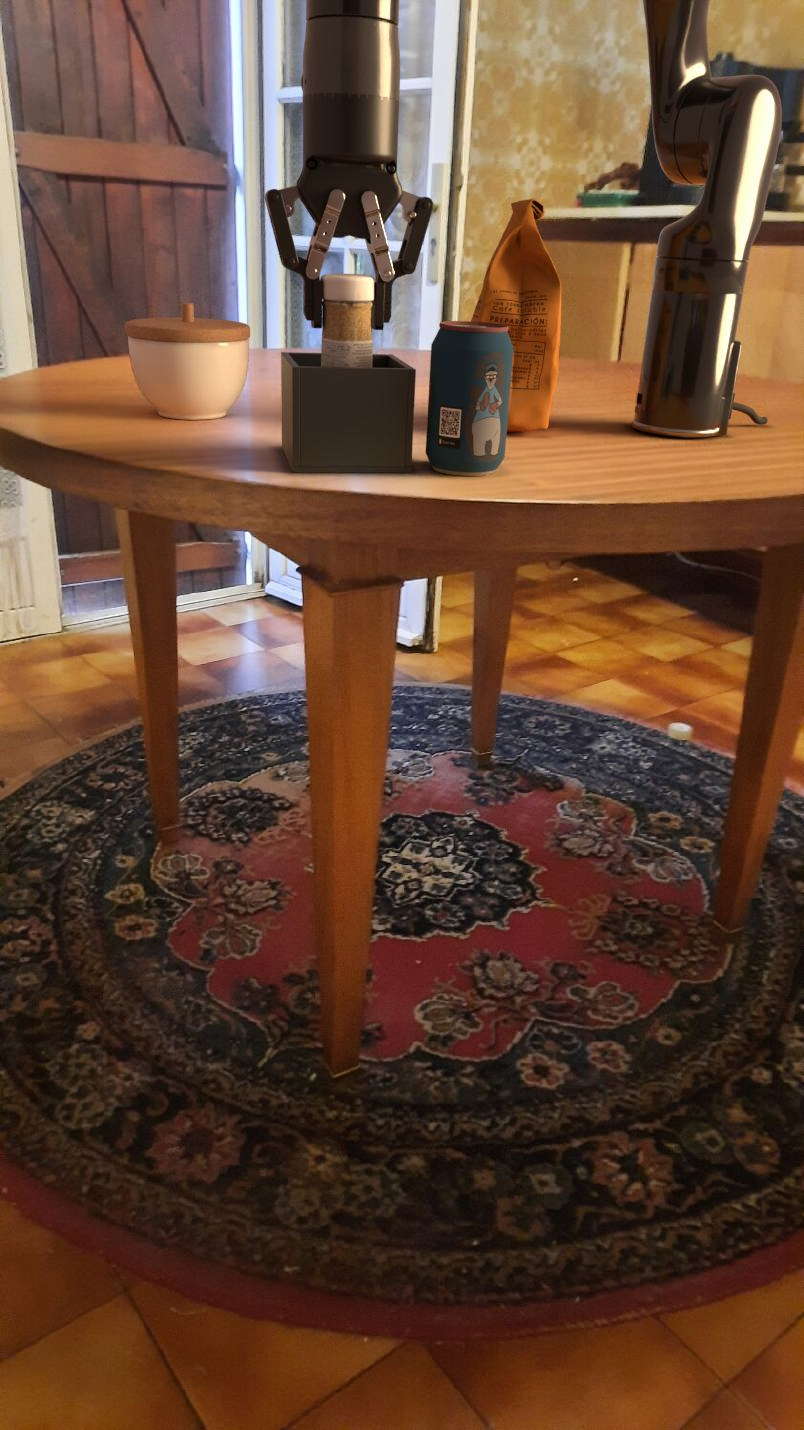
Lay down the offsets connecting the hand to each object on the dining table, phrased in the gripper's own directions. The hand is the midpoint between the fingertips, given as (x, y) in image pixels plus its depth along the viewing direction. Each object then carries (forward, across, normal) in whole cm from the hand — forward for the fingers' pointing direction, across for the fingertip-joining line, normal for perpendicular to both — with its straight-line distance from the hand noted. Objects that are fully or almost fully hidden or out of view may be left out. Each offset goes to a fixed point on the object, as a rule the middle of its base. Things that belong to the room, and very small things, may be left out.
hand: (347, 327), depth 86 cm
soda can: (+11, +10, -4) cm, 16 cm away
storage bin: (+11, 0, 0) cm, 11 cm away
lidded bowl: (+11, -13, +23) cm, 29 cm away
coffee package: (+11, +20, +17) cm, 29 cm away
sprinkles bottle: (+10, 0, 0) cm, 10 cm away
